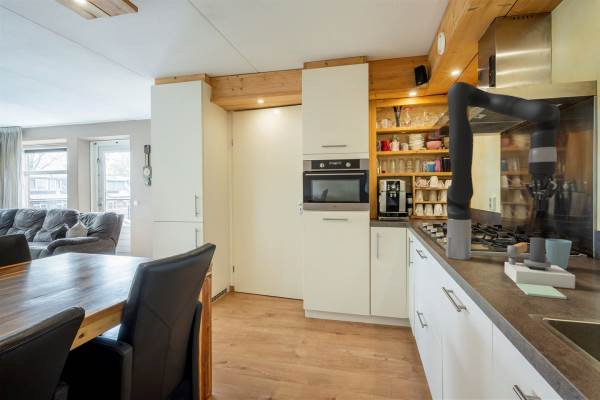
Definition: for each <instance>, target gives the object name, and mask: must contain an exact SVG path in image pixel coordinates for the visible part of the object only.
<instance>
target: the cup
mask: <svg viewBox="0 0 600 400" xmlns="http://www.w3.org/2000/svg"><path fill="white" fill-rule="evenodd" d="M545 239H546V248H545V254H546V261H549V262H551V265H556V266H558V267H560V268H562V269H564V270H567V268H568V266H569V265H568V264H569V259H570V254H571V249H572V244H573V241H571V240H567V239H561V238H560V239H559V238H545Z"/></svg>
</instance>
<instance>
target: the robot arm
mask: <svg viewBox="0 0 600 400" xmlns="http://www.w3.org/2000/svg"><path fill="white" fill-rule="evenodd" d="M446 98H447V99H446V100H447V108H448V109H447V110H448V132H449V133H448V157H449V161H450V162H449V163H450V166H451V183H450V185H449V186H448V187H447V190H446V213H447V214H446V215H447V216H446V217H447V218H446V219H447V221H446V222H447V224H446V225H447V226H446V227H447V229H446V230H447V231H446V236H445V239H446V243H445V245H446V247H445V255H446V257H447V258H448V259H454V260H464V261H465V260H466V261H467V260H471V257H472V256H471V255H472V252H471V251H472V211H471V203H470V201H471V200H472V198H473V196H474V185H473V177H472V176H473V174H472V170H473V169H472V167H473V166H472V165H473V157H474V155H473V154H474V133H473V129H472V127H471V124H470V121H469V118H468V117H469V116H468V111H467V110H468V107H471V108H480V109H485V110H488V111H491V112H494V113H497V114H500V115H503V116H507V117H510V118H516V119H521V120H524V121H526V122H530V123H533V124H535V125H534V132H533V133H532V134H531V135H530V139H529V143H530V145H529V154H528V169H527V170H528V175H529V176H531V178H530V182H529V183H526V184H525V188H526V189H527V191H528V194H529V195H530V198H532V199H534V201H535V211H540V212H541V211H544V212H545V211H546V209H547V201H548V200H549V199H552V198H553V196H554V195H555V193H556V192H557V190H558V189H559V188H560V184H559V183H555V181H554V180H555V179H554V177H553V175H556V174H557V156H558V155H557V153H558V152H557V132H558V131H559V125H560V121H561V112H560V111H561V110H560V109H559V107H558V106H556V105H554V104H551V103H549V102H546V101H545V102H544V101H540V100H535V99H534V100H533V99H527V98H523V97H521V96H514V95H510V94H509V95H508V94H503V93H502V94H501V93H495V92H494V93H493V92H489V91H485V90H483V89H481V88H478V87H476V86H474V85H473V84H471V83H468V82H464V81H456V82H454V83H453V84H451V86H450V87H449V88H448V91H447V96H446Z"/></svg>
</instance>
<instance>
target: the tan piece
mask: <svg viewBox="0 0 600 400" xmlns="http://www.w3.org/2000/svg"><path fill="white" fill-rule="evenodd" d="M506 251H507V252H506V253H507V254H506V256H507V257H508V258H509V257H516V258H518V256H519V255H520V254H522V253H525V252H527V251H528V242H523V241H521V242H518V243H516V244H513V245H507V250H506Z"/></svg>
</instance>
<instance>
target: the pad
mask: <svg viewBox="0 0 600 400" xmlns="http://www.w3.org/2000/svg"><path fill="white" fill-rule="evenodd" d="M515 284H516V286H517V287H518V288H519V289H520V290H521V291H522V292H523V293H525V294H526V295H527V296H530V297H531V296H533V297H539V298H540V297H541V298H549V299H550V298H553V299H561V300H568V299H567V297H568V296H566V295H565V294H563V293H562V292H560V291H559V290H557V289H556V288H555V287H552V286H541V285H530V284H519V283H515Z"/></svg>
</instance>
